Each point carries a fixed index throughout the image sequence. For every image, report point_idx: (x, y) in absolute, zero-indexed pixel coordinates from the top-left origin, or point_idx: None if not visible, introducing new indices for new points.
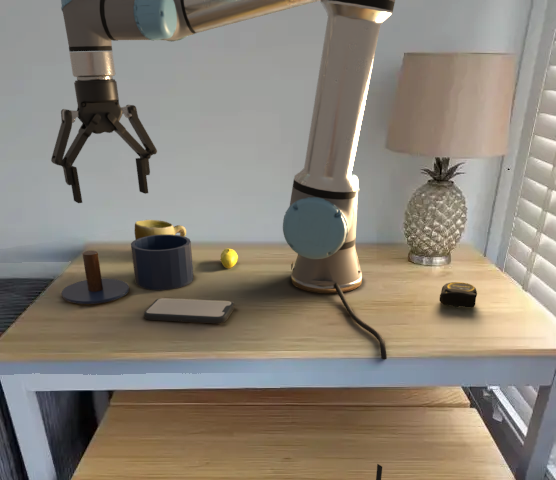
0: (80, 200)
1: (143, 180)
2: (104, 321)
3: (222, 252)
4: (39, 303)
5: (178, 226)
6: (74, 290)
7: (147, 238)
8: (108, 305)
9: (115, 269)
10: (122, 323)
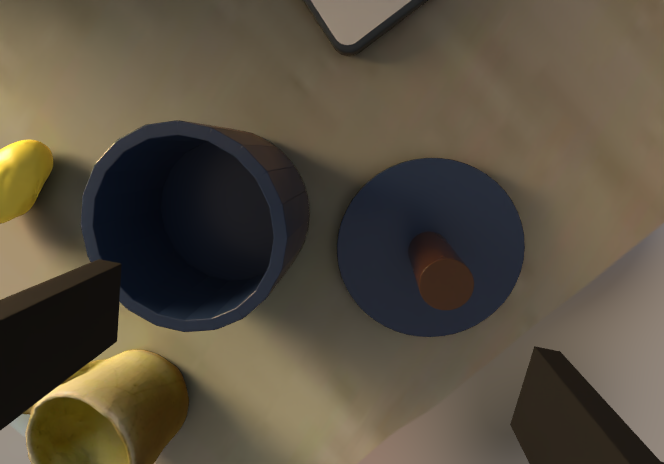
0: (551, 356)
1: (59, 292)
2: (525, 56)
3: (10, 203)
4: (566, 300)
5: None
6: (474, 285)
7: (186, 317)
8: (449, 154)
9: (281, 378)
10: (501, 6)
